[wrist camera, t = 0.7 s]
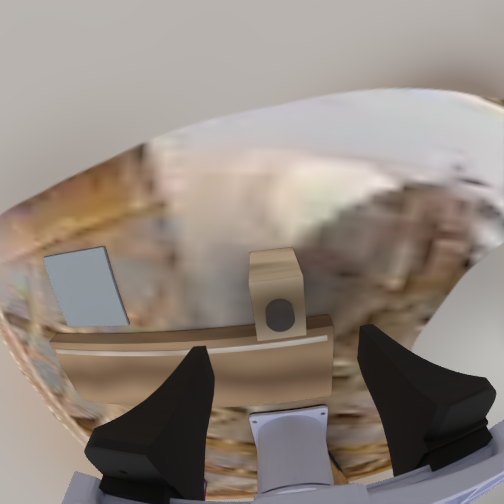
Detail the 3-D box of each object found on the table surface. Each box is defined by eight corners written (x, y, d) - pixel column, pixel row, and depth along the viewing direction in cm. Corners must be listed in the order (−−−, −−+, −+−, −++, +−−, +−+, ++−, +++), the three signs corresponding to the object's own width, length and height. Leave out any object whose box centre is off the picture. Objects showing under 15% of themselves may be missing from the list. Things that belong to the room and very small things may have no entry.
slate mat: (129, 323, 23) (128, 325, 23) (69, 325, 23) (68, 326, 23) (104, 246, 21) (103, 247, 20) (44, 256, 21) (42, 257, 21)
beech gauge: (296, 296, 22) (308, 344, 16) (257, 301, 22) (257, 351, 17) (292, 247, 21) (305, 284, 15) (249, 252, 21) (248, 291, 15)
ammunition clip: (308, 447, 29) (354, 519, 18) (321, 440, 29) (371, 510, 18) (321, 477, 32) (359, 534, 21) (333, 471, 32) (371, 526, 21)
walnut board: (328, 383, 25) (331, 396, 24) (87, 390, 26) (81, 400, 25) (328, 314, 22) (333, 326, 21) (56, 333, 24) (48, 342, 22)
